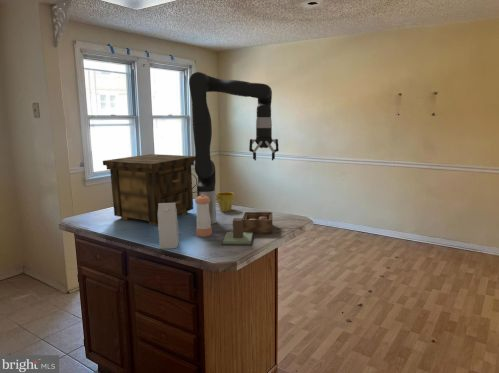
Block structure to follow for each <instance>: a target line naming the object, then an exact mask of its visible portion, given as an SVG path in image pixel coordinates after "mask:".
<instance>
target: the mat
mask: <svg viewBox="0 0 499 373" xmlns="http://www.w3.org/2000/svg"><path fill="white" fill-rule="evenodd" d="M254 236H255V235H254V234H253V236H252V240H251V244H223V241H222V243H221V246H252V245H253V241H254Z"/></svg>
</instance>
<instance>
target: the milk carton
mask: <svg viewBox="0 0 499 373" xmlns="http://www.w3.org/2000/svg"><path fill="white" fill-rule="evenodd" d="M157 226H158V241H159V249H160V250H164V249H165V250H166V249H168V250H169V249H178V246H179V227H178V226H179V225H178V215H177V209H176V205H175V203H158V225H157Z"/></svg>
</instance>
